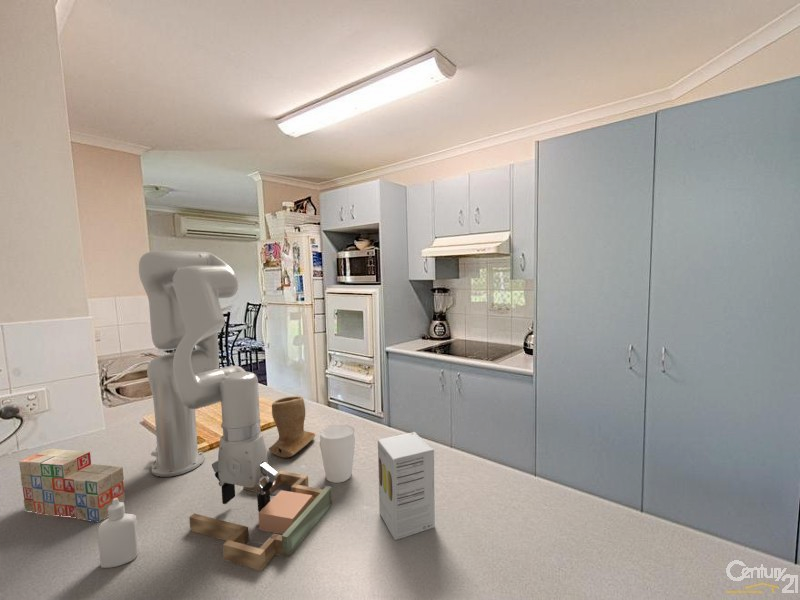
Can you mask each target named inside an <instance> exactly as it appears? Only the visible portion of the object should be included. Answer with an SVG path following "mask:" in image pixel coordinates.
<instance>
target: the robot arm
mask: <svg viewBox="0 0 800 600" xmlns="http://www.w3.org/2000/svg"><path fill="white" fill-rule="evenodd" d="M138 274H139V275H138V276H139V279H140V281H141V285H142V286H143V288H144V291H145V293H146V296H147V299H148V304H149V305H148V308H149V309H148V311H149V321H150V335H151V339H152V340H151V341H152V343H153V346H154V347H155V348H157V349H159V350H162V351H163V350H165V351H166V350H175V351H174V353H173V352H171V353H168V354H164V355H159V356H158V357H156V358H154V359H152V360H151V361H150V362H149V363H148V365H147V368H146V373H147V374H146V375H147V379H148V382H149V386H150V390H151V395H152V399H153V401H152V402H153V411H154V422H155V423H154V424H155V435H156V436H155V437H156V447H155V450H152V451H151V453H150V455H151V456H152V457H155V459H156V462H154V463H153V465H152V466H151V472H152V474H153V476H155V477H159V476H160V477H161V478H166V477H169V478H170V477H174V476H179V475H183V474H186V473H188V472H191V471H193V470H194V469H196V468H198V467H200V466H201V465H202V463H203V462H204V461H205V454H204V452H203V451H201V452H199V453H198V451H199V446H198V434H197V432H198V431H197V430H198V429H197V418H196V410H197V409H202V408H205V407H208V406H212V405H215V404H218V403H219V404H220V405H221V407H220V408H221V420H222V421H221V424H220V427H221V429H222V435H221V437H220V438H219V439H220V440H219V446H218V454H217V455H218V457H217V460H216V461H214V462H213V463H211V467H212V469H213V472H214V476H215V478H216V479H217V480H218V485H219V486H220V487H221V488H220V489H221V501H222V505H227V504H228V503H229V502H230V501H232V500H233V499H234V498H235V497H236V486H239V487H243V486H244V487H250V488H251V487H254V486H255V487H256V489H257V490H258V492H257V493H258V494H257V497H256V498H257V499H256V500H257V511H258V513H259V512H260V511H261V510H262V509H263V508H264V507H265V506H266V505H267V504H268V503H269V502H270V501H271V495H270V489H271V488H272V487H273V486H274V485H275V483H276V481H277V478H278V476H279V473H278V471H277V470H275V469H274V468H273V467H271V466H270V465H269V463H268V454H267V452H268V451H267V447H266V443H265V438H264V435H263V433H261V432H262V431H261V430H262V429H261V418H260V417H261V414H260V413H261V412H260V396H259V395H260V393H259V380H258V376H257V374H256V373H254V372H251V371H246V370H245V369H244V368H243V367H241V366H239V365H229V366H224V367H220V355H219V354H220V353H219V338H218V337H219V336H218V332H220V331H221V330H222V329H223V328H224V327H225V325H226V320H225V317H224V314H223V310H222V308H221V303H220V300H219V299H228V298H232V297H234V296H235V295H236V293H238V290H239V281H238V277H237V275H236V273H235V271H234V270H233V268H232V267H231V266H230V265H229V264H227V263H226V262H225V261H224V260H222V259H221V258H219V257H218V256H216V255H214V254H213V253H212V252H208V251H194V250H193V251H189V250H185V251H184V250H173V249H172V250H152V251H148V252H146V253H144V254H143V255H142V256H141V257H140V259H139V262H138ZM195 347H196V349H195ZM200 464H201V465H200ZM261 480H262V482H263V483H264V484H265V486H264V487H263V486H262V485H261V483H260V481H261ZM244 487H243V488H244Z"/></svg>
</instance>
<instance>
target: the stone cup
mask: <svg viewBox="0 0 800 600" xmlns="http://www.w3.org/2000/svg"><path fill="white" fill-rule="evenodd" d="M271 415H272V416H271V417H272V419H273V421H274V423H275V426H276V429H277V432H278V439H277V440H276V441H275V442H274V443H273V444H272V445H271V446H270V447H269V448H268V450H269V452H271V453H272V454H273V455H276V456H277V457H280V458H282V459H283V458H284V459H285V458H290V457H293V456H294V455H296V454H298V452H300V451H301V450H302V449H303V448H305V446H307V445H308V444H310V442H311V441H312V440H314V438H315V437H316V433H314V432H311V431H306V430H305V429H304V426H305V419H306V405H305V400H304V398H303V397H302V396H300V395H296V396H295V395H294V396H293V395H292V396H286V397H281V398H278V399H275V400H274V401H273V402H272V404H271Z"/></svg>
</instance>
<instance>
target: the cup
mask: <svg viewBox="0 0 800 600" xmlns="http://www.w3.org/2000/svg"><path fill="white" fill-rule="evenodd" d="M319 437H320V438H319V447H320V448H319V449H320V452H321V459H322V463H323V469H324V474H325V479H326V480H327V481H328V482H331V483H335V484H336V483H337V484H338V483H342V482H345V481H348V480H349V479H350V478H351V477H352V475H353V465H354V456H355V448H356V447H355V445H356V437H355V428H354V427H353V426H352V425H349V424H339V423H337V424H331V425H329V426H325V427H324V428H322V429H321V430H320V434H319Z"/></svg>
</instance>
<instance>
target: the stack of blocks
mask: <svg viewBox="0 0 800 600" xmlns="http://www.w3.org/2000/svg"><path fill="white" fill-rule="evenodd" d="M18 463H19V471H20V481H21V482H20V483H21V487H22V493H23V504H24V505H23V506H24V511H25V510H26V511H32V512H37V513H42V514H41V515H43V514H48V515H47V516H49V515H59V516H61V515H62V516H71V517H76V518H79V519H78V520H80V519H85V520H84V521H87V520H91V521H90V522H93V521H98V522H97V523H100V522H102V521H104V520H105V519H106V518H108V517H107V516H108V507H109V506H111V505H112V503H113V499H114V498H118V500H119V502H123V503H124V506H126V498H125V486H124V485H125V484H124V479H125V478H124V468H123V466H114V465H113V466H112V465H107V464H105V465H103V464H93V463H92V459H91V451H84V450H73V449H72V450H71V449H70V450H69V449H59V448H48V449H46V450H43V451H41V452H38V453H36V454H34V455H32V456H31V455H30V456H28V457H27V458H24V459H22V460H20V461H19V462H18ZM59 516H58V517H59ZM104 518H105V519H104ZM101 520H102V521H101Z"/></svg>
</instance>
